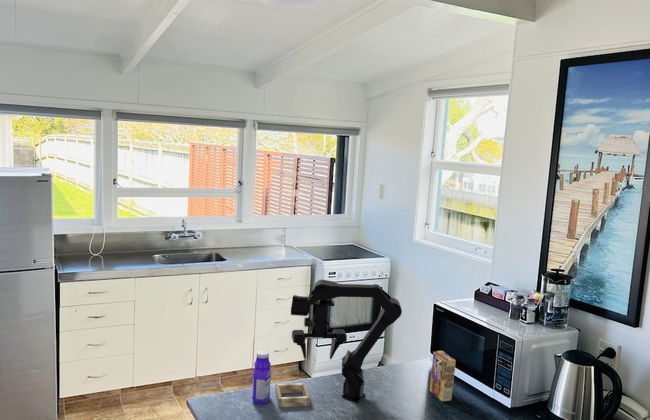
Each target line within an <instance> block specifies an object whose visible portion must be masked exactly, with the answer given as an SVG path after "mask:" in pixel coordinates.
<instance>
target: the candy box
mask: <svg viewBox="0 0 650 420" xmlns="http://www.w3.org/2000/svg"><path fill="white" fill-rule="evenodd" d="M456 361H457V360H456V359H455V358H453V357H452V356H450V355H449V354H447V353H446V352H445V351H443V350H437V351H433V355H432V364H431V365H432V366H431V372H430V373H431V375H430V385H429V391H430V392H431V393H432V395H434V396H436V398H438V400H440V401H441V402H449V401H452V398H453V388H454V381H455V373H456V372H455V370H456Z"/></svg>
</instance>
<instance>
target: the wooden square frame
mask: <svg viewBox="0 0 650 420" xmlns="http://www.w3.org/2000/svg"><path fill="white" fill-rule="evenodd" d="M308 390H309V389H308V388H307V385H306V382H302V383H301V382H300V383H299V382H297V383H276V384H275V386H274V393H275V399H276V402H277V403H276V404H277V407H278V408H291V407H292V408H293V407H310V404H311V397H310V393H309V391H308ZM297 393H298V394H299V393H302V395H303V396H284V397H282V394H297Z"/></svg>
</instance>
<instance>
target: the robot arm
mask: <svg viewBox="0 0 650 420" xmlns="http://www.w3.org/2000/svg"><path fill="white" fill-rule="evenodd" d="M291 298H292V301H291V307H290V316H299V317H304V318H303V319H304V320H303V326H304V327H307V328H308V329H309V332H305V330H304V329H293V330H291V339H292V341H293V344H296V345H297V346H300V350H301V351H302V356H303V360H304V361H306V360H307V346H306V345H307V344H306V340H311V339H312V340H314V339H315V340H316V339H318V340H319V339H321V340H323V339H331V345H330V352H329V360H332V359H333V357H334V355H335V353H336V352H337V349H338V348H339V347H340V346H341V345H343V344H344V343H346V342H347V338H348V337H347V333H346V332H345V330H344V329H343V328H337V329H332V332H328V329H329V324H330V323H329V314H330V307H335V304H336V303H335V300H334V299H336V298H373V299H374V300H375V301H376V302H377V303H378V305H379V306H380V307H381V309H380V310H379V311H380V312H379V314H378V317H377V319H376V320H375V321H374V323H373V324H372V326H371V327H370V328H369V330H368V331H367V333H366V334H365V335H364V337H363V338H362V340H361V341H360V342H359V344H358V345H357V347H356V348H355V349H354V350H352V351H351V350H349V349H348V350H347V351H346V354H345V355H344V356H343V357H341V374H342V376H343V377H344V378H345V379H344V382H343V385H342V395H341V398H344V399H346V400H350V401H353V402H356V403H359V402H360V401H361V400H362V399H363V398H364V397H365V396H366V393H365V391H364V390H365V379H364V370H363V368H362V366H363V362H364V360H365V359H366V357H367V356H368V354H369V353H370V351H371V350H372V349H373V347H374V346H375V345H376V343H377V341H378V340H379V339H380V338H381V336H382V335H383V333H384V332H385V331H386V329H387V328H388V327H390V326H391V325H392V324H394V323H395V322H397V320H398V319H399V318H400V317H401V315H402V314H403V313H402V312H403V310H402V306H401V303H400V301H399V300H398V299H397V298H394V297H392V296H391V295H390V294H389V293H388V292H386V291H385V290H384V289H383V288H382V287H381V286H380V285H379V284H377V283H374V284H373V283H372V284H363V283H362V284H360V283H358V284H352V283H338V282H335V281H333V280H328V279H327V280H326V279H319V280H317V281H316V282H315V284H314V285H313V290H311V291H310V293H309V294H308V296H302V295H301V296H300V295H296V294H295V295H292V297H291ZM311 311H312V315H311V317H307V316H308V315H309V314H311Z"/></svg>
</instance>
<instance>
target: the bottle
mask: <svg viewBox="0 0 650 420" xmlns="http://www.w3.org/2000/svg"><path fill="white" fill-rule="evenodd" d="M255 359H256V360H255V362H254V363H253V365H254V369H253V373H252V390H251V391H252V394H251V395H252V396H251V399H252V402H253V403H254V404H258V405H259V404H260V405H265V404H266V403H268V401H269V399H270V397H271V375H272V370H271V366H272V365H271V361H270V353H269V351H267V350H265V349H260V350H258V351H256V358H255Z"/></svg>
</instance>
